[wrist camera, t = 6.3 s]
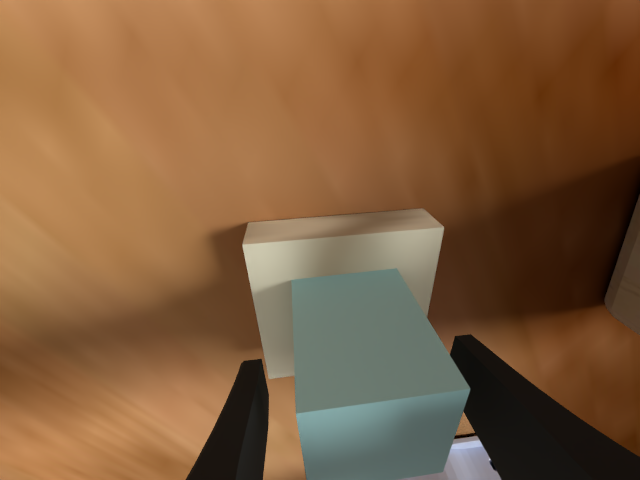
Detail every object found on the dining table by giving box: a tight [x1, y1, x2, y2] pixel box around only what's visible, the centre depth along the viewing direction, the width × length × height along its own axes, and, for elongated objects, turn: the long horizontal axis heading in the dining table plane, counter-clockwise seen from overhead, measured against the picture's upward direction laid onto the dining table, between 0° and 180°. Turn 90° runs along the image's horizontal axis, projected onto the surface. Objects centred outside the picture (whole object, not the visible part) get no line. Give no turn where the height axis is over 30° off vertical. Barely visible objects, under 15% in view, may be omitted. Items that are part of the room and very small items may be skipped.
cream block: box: [242, 208, 444, 379], centre depth 14 cm, size 8×8×2 cm
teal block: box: [291, 268, 470, 480], centre depth 11 cm, size 4×4×6 cm
